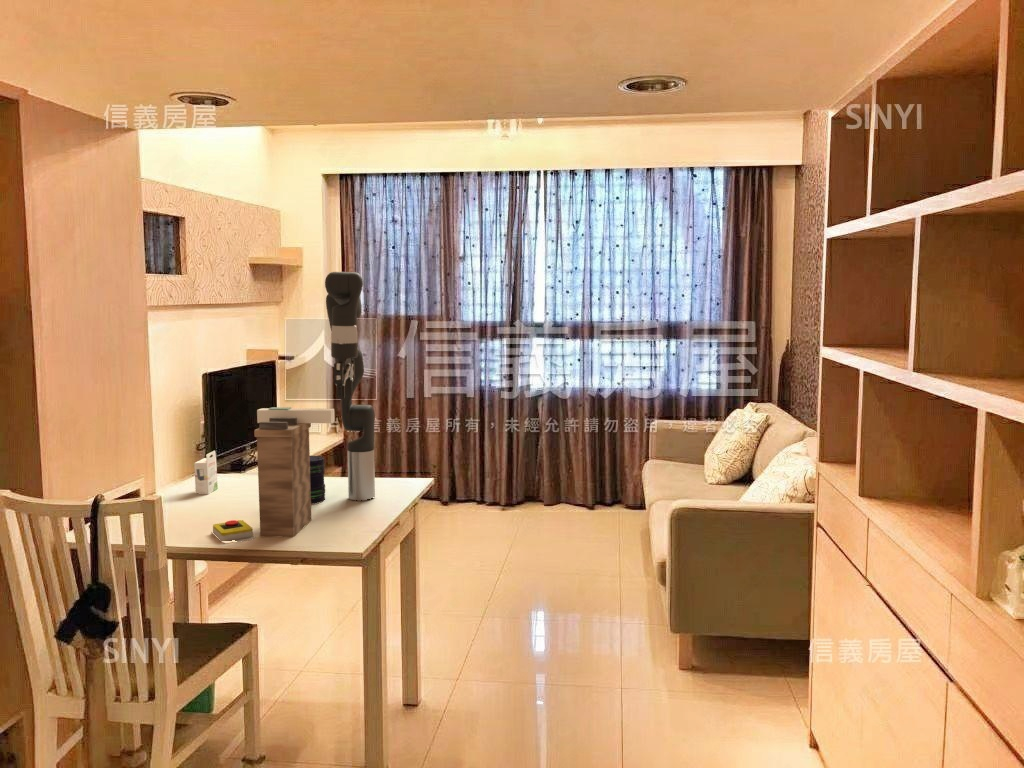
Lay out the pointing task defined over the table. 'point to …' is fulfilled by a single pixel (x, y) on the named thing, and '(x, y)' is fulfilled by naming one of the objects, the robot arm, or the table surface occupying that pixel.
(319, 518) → the table surface
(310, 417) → the bar
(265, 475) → the tall stand
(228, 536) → the emergency button
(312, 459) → the dark blue cylinder
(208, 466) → the ink box
